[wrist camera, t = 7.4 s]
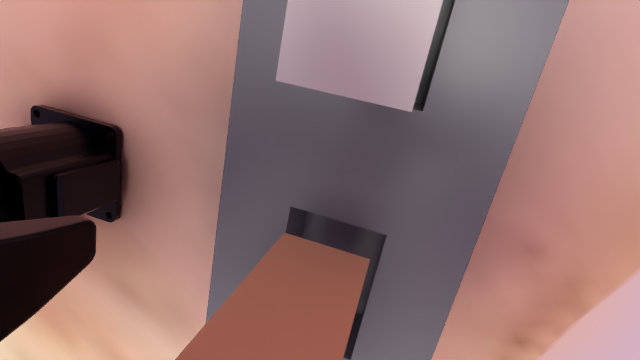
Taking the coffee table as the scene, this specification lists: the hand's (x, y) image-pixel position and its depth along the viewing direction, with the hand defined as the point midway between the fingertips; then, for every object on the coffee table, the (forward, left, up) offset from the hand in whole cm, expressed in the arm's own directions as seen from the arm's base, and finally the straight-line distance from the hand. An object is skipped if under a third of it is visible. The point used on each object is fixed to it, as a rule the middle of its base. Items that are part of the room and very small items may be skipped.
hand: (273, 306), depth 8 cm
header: (0, +1, -13) cm, 13 cm away
